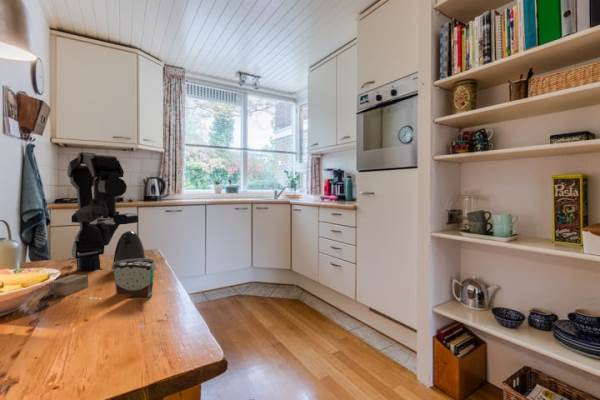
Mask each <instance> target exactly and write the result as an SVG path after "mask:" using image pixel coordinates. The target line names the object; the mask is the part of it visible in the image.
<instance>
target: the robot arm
mask: <svg viewBox="0 0 600 400" xmlns="http://www.w3.org/2000/svg"><path fill="white" fill-rule="evenodd" d="M124 173H125V171H124V169H123V167H122V164H121V163H120V160H119V159H118V158H117V156H115V155H102V154H96V153H94V152H85V151H81V152H78V154H77V157H75V158H74V159H72V160H71V161H69V163H68V166H67V176H68V178H69V180H70V181H69V182H70V184H71V185H72V187H74V188H75V190H76V198H77V209H78V210H76V211H75V212H74V213H73V214H72V216H71V223H74V224H76V223H77V224H79V230H78V232H77V234H76V235H75V237H74V242H73V244H72V248H71V256H72V257H73V259H75V260H76V270H77V271H79V272H81V273H82V272H95V271H97V270H98V271H103V270H104V268H101V259H100V255H101V256H102V255H104V254H105V247H106V246H109V244H110V242H111V240H112V239H113V237H114V235H115V232H116V231H117V230H118V228H119V227H120V225H130V224H135V223H139V215H137V213H136V212H135V213H133V212H130V213H129V212H125V213H120V211H119V210H118V211H117V203H119V202H120V199H119V198H118V197H121V196H123V195H124V194H125V193H127V192H126V191H127V187H128V186H127V184H126V182H125V180H124V179H122V178H124Z"/></svg>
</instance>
